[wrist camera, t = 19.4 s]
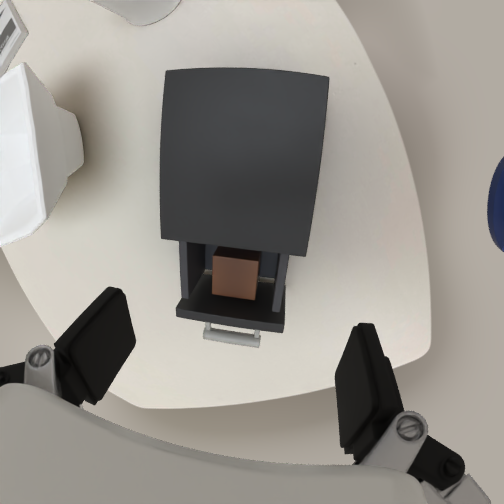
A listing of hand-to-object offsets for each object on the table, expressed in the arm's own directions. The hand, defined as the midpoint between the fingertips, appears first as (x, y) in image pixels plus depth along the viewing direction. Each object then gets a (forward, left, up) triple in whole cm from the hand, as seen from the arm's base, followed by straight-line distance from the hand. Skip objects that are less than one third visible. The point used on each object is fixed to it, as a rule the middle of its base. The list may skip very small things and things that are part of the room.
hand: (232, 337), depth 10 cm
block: (+2, +7, -20) cm, 21 cm away
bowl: (+29, -6, -22) cm, 37 cm away
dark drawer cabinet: (+2, -5, -22) cm, 23 cm away
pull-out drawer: (+2, +7, -21) cm, 23 cm away
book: (+57, -34, -22) cm, 71 cm away
